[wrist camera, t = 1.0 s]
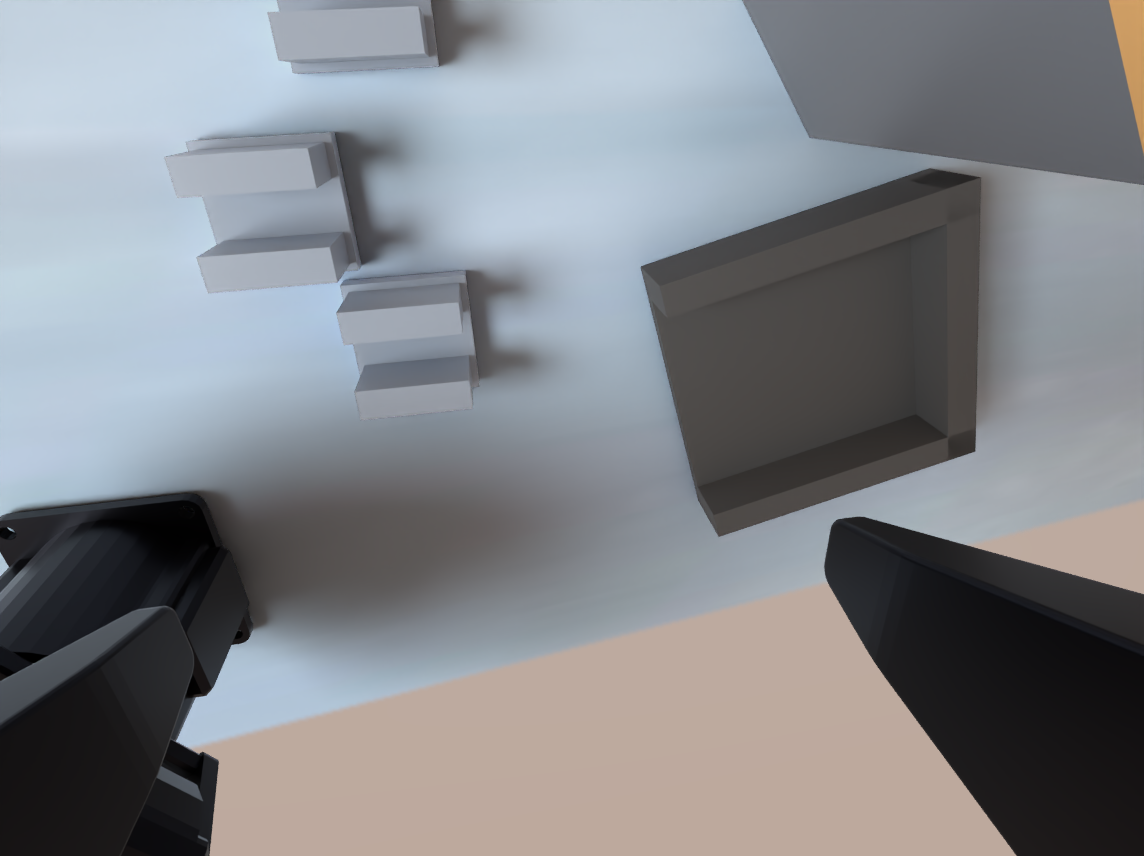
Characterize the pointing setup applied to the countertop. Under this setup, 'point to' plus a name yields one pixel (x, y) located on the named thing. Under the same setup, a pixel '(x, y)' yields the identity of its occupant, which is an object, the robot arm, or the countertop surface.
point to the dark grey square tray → (825, 347)
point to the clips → (335, 216)
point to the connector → (969, 78)
